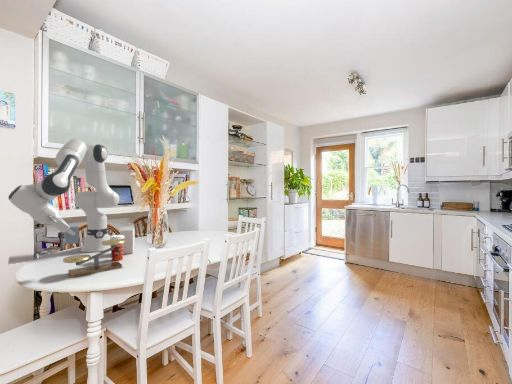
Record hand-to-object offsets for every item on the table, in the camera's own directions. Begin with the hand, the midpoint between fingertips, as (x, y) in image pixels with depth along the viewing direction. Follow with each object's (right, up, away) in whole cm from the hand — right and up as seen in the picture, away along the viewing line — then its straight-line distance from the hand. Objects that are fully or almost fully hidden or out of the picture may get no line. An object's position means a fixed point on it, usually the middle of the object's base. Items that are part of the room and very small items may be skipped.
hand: (73, 233), depth 122 cm
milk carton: (+7, -19, +38) cm, 43 cm away
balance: (+8, -20, +5) cm, 22 cm away
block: (-1, -4, 0) cm, 4 cm away
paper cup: (+9, -19, +23) cm, 31 cm away
